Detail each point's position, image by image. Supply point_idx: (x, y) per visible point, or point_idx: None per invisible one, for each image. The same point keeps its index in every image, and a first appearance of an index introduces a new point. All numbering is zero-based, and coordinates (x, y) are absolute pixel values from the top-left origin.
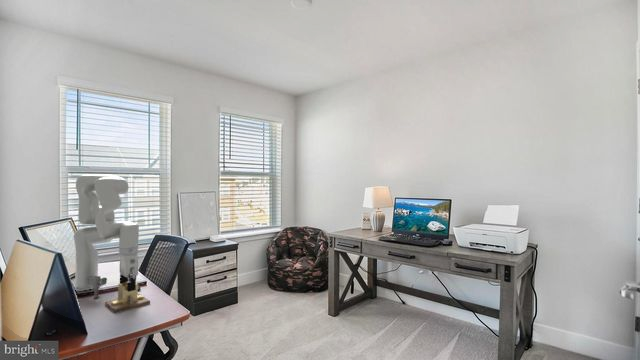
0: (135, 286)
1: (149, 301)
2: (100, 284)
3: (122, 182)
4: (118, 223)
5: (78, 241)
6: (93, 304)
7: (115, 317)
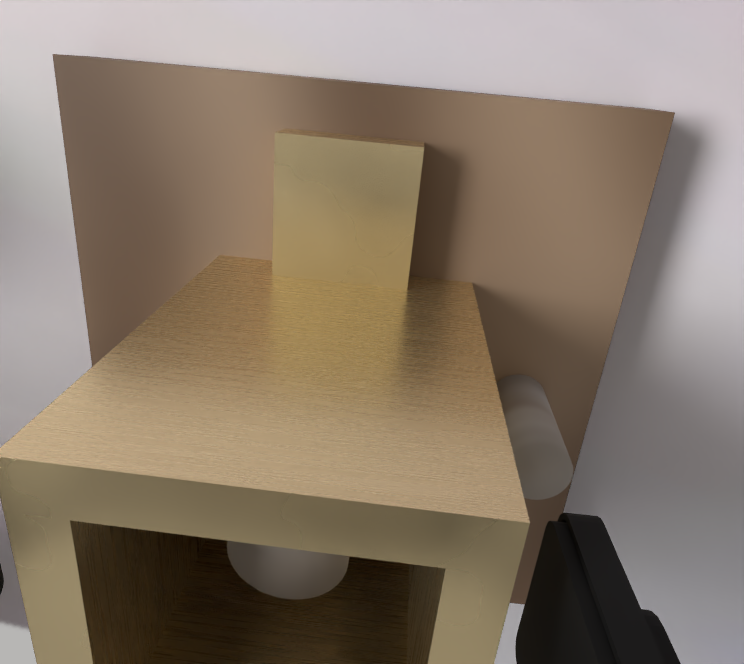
0: (634, 600)
1: (663, 120)
2: None
3: None
4: None
5: None
6: (9, 569)
7: (666, 612)
